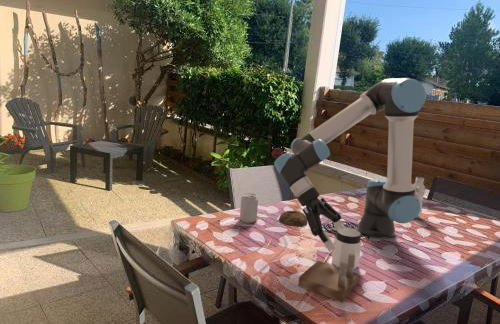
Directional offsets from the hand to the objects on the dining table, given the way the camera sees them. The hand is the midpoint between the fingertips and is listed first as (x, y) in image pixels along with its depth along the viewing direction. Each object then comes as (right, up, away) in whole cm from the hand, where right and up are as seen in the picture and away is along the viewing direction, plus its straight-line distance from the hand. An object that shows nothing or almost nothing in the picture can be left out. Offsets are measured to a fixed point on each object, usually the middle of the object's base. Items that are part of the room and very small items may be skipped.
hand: (340, 243), depth 130 cm
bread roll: (-12, +1, +40) cm, 42 cm away
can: (-32, +2, +37) cm, 49 cm away
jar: (+2, -8, +1) cm, 8 cm away
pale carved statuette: (+49, +1, +55) cm, 74 cm away
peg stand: (-7, -10, -13) cm, 18 cm away
